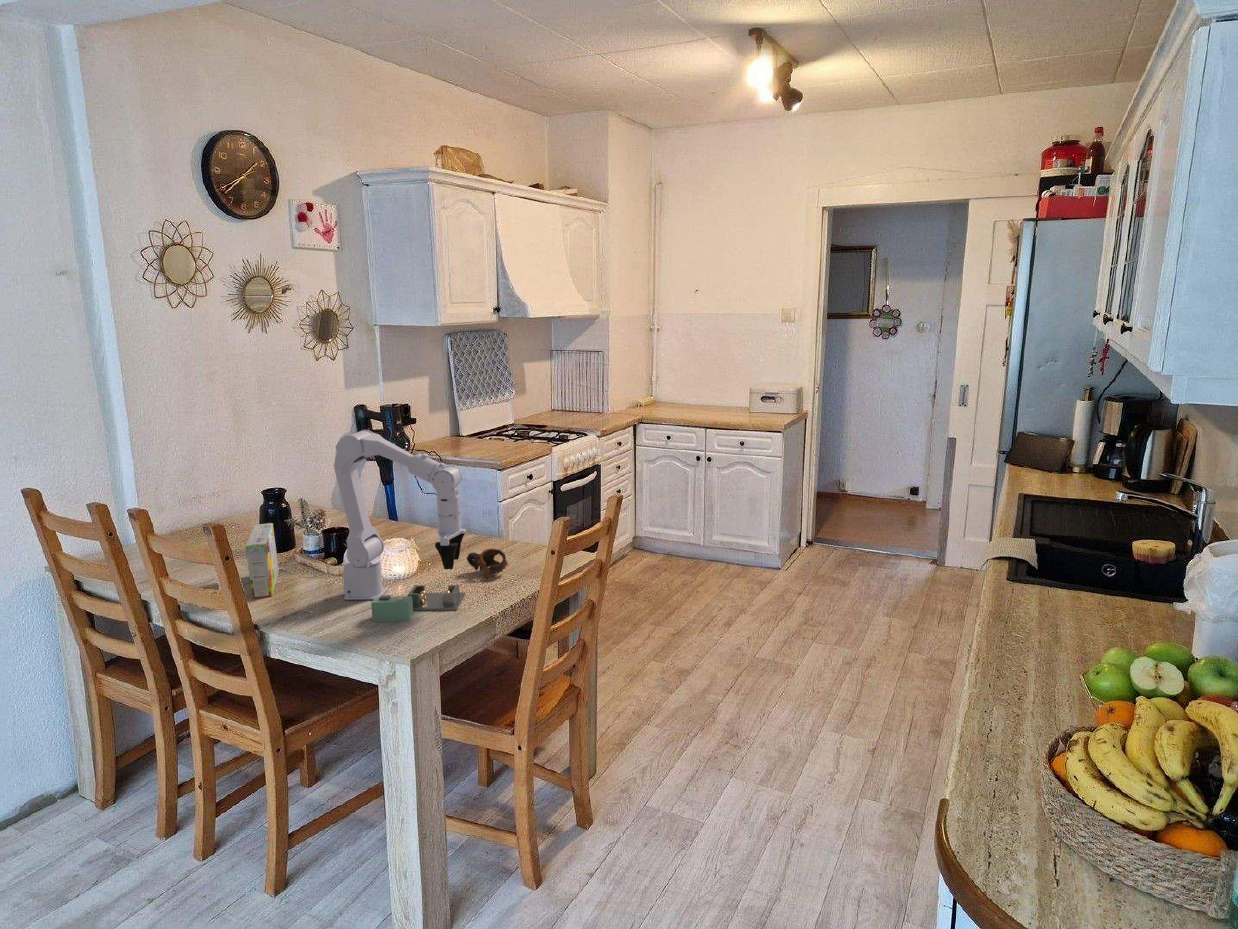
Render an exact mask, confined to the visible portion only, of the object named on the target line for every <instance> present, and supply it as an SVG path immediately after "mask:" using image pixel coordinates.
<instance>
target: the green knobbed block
mask: <svg viewBox="0 0 1238 929" xmlns="http://www.w3.org/2000/svg"><path fill="white" fill-rule="evenodd" d="M370 607H371V617H372V618H371V619H372V622H409V621H410V620H411V619H412V617H413V616H414V611H413V603H412V596H408V595H405V596H404V595H398V596H396V595H395V596H393V595H391V594H383V595H381V596H380V597H375V599H372V601H371V606H370Z"/></svg>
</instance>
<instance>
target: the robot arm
mask: <svg viewBox="0 0 1238 929" xmlns="http://www.w3.org/2000/svg"><path fill="white" fill-rule="evenodd" d="M335 451H336V453H335V458H334V463H333V468H334V472H335V477H336V480H337V484H338V488H339V493H340V496H341V500H342V504H343V508H344V512H345V516H346V520H347V524H348V528H349V534H348V536H347V538H346V545H347V549H346V553H345V554H346V559H347V561H348V563H345V564H344V567H343V572H342V579H343V593H344V597H343V600H347V601H348V600H350V601H352V600H353V601H355V600H362V601H363V600H374V599H375V597H380V596H381V595H385V593H386V592H387V590H388V587H387V586H386V587H384V586H383V578H382V577H383V576H382V562H381V555H382V554H383V552H384V551H385V550H384V549H385V544H384V541H383V539H382V538H381V537H380V535H379V533H378V530H377V528H376V527H374V526H373V525H372V524H371V520H370V517H369V511H368V508H367V504H366V499H365V495H364V492H363V487H362V484H361V480H360V475H359V471H358V467H360V465H361V463H362V462H363V461H364V459H366V457H371V456H381V457H383V458H385V459H389V460H390V461H393V462H395V463H397V464H400V465H401V466H405V467H407V470H408V472H409V474H410V475H412V476H414V477H417V478H418V479H421V480H423V481H425V482H426V483H428V484H431V485H432V487H433V488H434V490H435V491H436V506H437V508H436V509H437V525H438V528H437V534H438V536H439V539H440V540H439V541H437V542H435V543H434V547H435V549H436V550H437V552H438V553H439V556H440V559H441V560H440V561H441V562H442V563H441V564H442V566H443V569H444V570H453V569H454V564H455V561H456V560H457V561H458V560H459V558H460V553H461V545H462V542H463V539H464V536H465V534H466V532H467V530H466V528H462V523H461V502H460V501H461V498H460V487H459V485H460V484H461V483H462V480H463V475H462V472H461V471H460V469H459V468H457V467H456V466H455V465H453V464H449V465H446V463H444V462H438V461H437V460H434V459H432V458H431V457H429V454H427V453H426V452H425V453H416V454H414V455H413V454H412V453H410V452H408V451H407V450H405V449H403V448H402V447H399V446H397V445H396V444H394V443H393V442H390V441H388V440H387V439H385V438H384V437H382V436H381V434H378V433H376V432H373V431H371V430H369V429H362V430H359V431H358V432H356V433H351V434H347V435H344V436H343V437H341V439H340V440H339V441H338V442H337V444H336V445H335Z"/></svg>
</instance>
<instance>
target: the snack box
mask: <svg viewBox="0 0 1238 929" xmlns="http://www.w3.org/2000/svg"><path fill="white" fill-rule="evenodd" d="M274 530H275V529H274V523H272V522H267V523H261V524H260V523H258V524H254V525H253V528H252V530H251V533H250V535H249V536H248V539H247V541H246V544H245V552H246V553H245V554H246V559H247V560H246V561H247V567H248V574H249V582H250V583H249V584H250V589H251V598H252V599H259V598H266V597H272V596H273V594H274V590H275V588H276V587H275V586H276V583H277V579H278V576H279V573H280V568H279V567H280V566H279V562H278V561H279V560H278V553H277V547H276V539H275V538H276V537H275V531H274Z"/></svg>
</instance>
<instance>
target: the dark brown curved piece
mask: <svg viewBox="0 0 1238 929" xmlns="http://www.w3.org/2000/svg"><path fill="white" fill-rule="evenodd" d="M497 555H500V556H501V557H502V561H497V560H495V557H496V556H497ZM466 560H467V562H468V563H467V564H469V565H470V566H471V567H473V569H474V570H475V571H478V570H479V571H482V570H483V573H482V577H483V578H485V579H489V578H490V576H494V575H497V574H499V573H501V572H503V570H504V569H506V567H507V566H508V565H509V563H508V561H507V558H506V555H505V552H503V551H502V550H501V549H498V548H493V547H492V548H491V547H490V548H486V549H484V550H483V551H481V552H480V553H477V552H470V553H468V554H467V557H466Z"/></svg>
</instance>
